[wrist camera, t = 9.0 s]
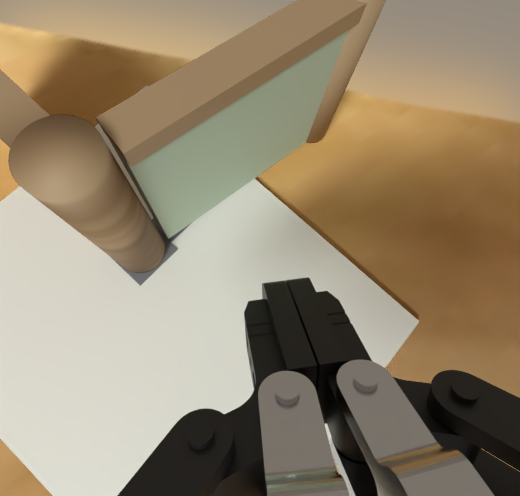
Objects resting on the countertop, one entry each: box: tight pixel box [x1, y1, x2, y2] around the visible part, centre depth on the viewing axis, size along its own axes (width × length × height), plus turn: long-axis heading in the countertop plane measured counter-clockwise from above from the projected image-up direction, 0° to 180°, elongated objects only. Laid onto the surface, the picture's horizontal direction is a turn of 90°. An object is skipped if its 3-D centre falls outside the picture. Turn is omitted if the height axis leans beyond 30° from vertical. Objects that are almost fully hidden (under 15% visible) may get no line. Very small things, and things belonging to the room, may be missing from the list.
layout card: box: [0, 85, 420, 496], centre depth 18 cm, size 20×17×1 cm
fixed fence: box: [0, 70, 165, 273], centre depth 15 cm, size 12×2×10 cm, turn 48°
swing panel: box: [95, 0, 386, 239], centre depth 16 cm, size 11×2×9 cm, turn 129°
